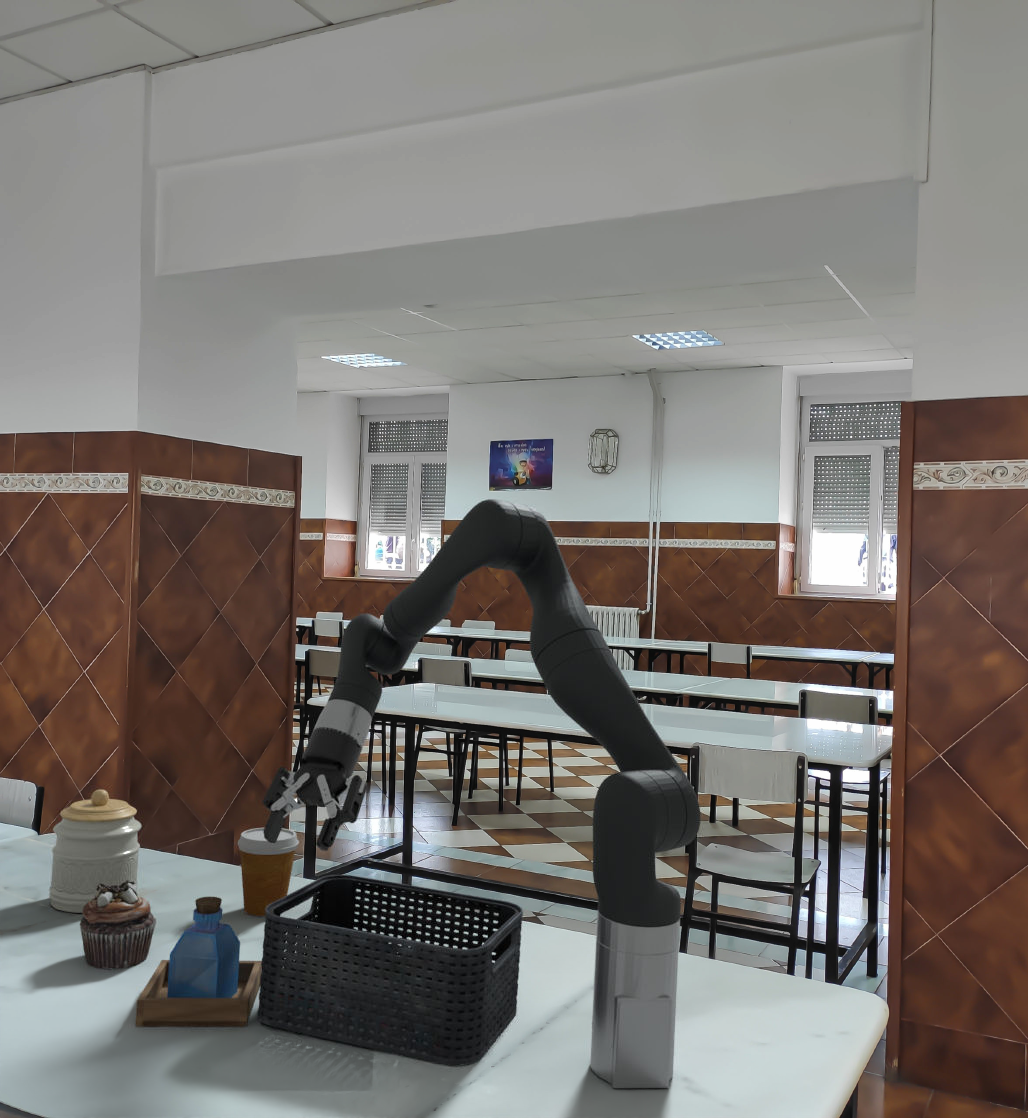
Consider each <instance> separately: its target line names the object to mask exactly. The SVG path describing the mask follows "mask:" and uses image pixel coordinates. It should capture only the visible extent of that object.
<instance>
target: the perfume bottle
mask: <svg viewBox="0 0 1028 1118" xmlns="http://www.w3.org/2000/svg"><path fill="white" fill-rule="evenodd" d="M222 901H223V899H222V898H221V897H219V896H202V897H199V898H196V899H195V908H194V909H193V911H192V912H193V913H192V920H193V921H194V924H193V925H191V926H190V927H188V928H187V929H185V930H184V931H183V932H182V934H181V935H180V937H179V939H178V940H177V941H176V944H175V945H174V947H173V948H172V950H171V952H170V954H169V960H170V961H169V977H168V993H167V998H231V997H232V996H233V995H234V994H236V993H237V988H238V971H239V961H240V954H241V953H240V952H241V941H240V940H239V938H238V936H237V934H236V933H235V930H233V928H232V926H231V925H230V924H229V923H222V922H220V920H222V918H223V908H221V906H222Z"/></svg>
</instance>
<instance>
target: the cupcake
mask: <svg viewBox="0 0 1028 1118" xmlns="http://www.w3.org/2000/svg"><path fill="white" fill-rule="evenodd" d="M134 884H135V883H134V881H133V882H130V881H129V880H127V881H126V882H124V883H122V884H121V885H120V886H118V885H112V886H111V887H110V886H107V885H104V884H99V885H98V886H97V887H98V888H97V889H96V890H95V893H94V897H95V898H94V899H91V900H90V901H89V902H88V903H87V904H86V905H85V906H84V908H83V911H82V913H81V914H82V917H81V920H80V921H79V922H80V923H79V928H80V934H81V939H82V947H83V953H84V954H83V955H84V958H85V960H86V964H87V965H88V966H89V967H93V968H96V969H102V970H118V969H125V968H130V967H131V968H132V967H134V966H137V965H139V964H141V963H143V962H145V961H146V960H147V959H148V956H149V953H150V949H151V948H150V947H151V944H152V943H151V942H152V940H153V934H154V932H155V928H156V924H157V918H156V917H155V916H154V914H153V913H152V912H151V905H150V901H148V900H147V899H146V897H145V898H144V897H142V896H139V895H138V893H136V891H137V892H138V887H137V888H136V886H135V885H134Z"/></svg>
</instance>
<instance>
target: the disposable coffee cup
mask: <svg viewBox="0 0 1028 1118" xmlns="http://www.w3.org/2000/svg"><path fill="white" fill-rule="evenodd" d="M264 828H265V827H257V828H250V829H247V830H244V831H242V832H241V833H240V837H239V839H238V840H237V843H236V844H237V845H238V848H239V852H240V865H241V867H240V868H241V882H242V885H241V886H242V895H243V912H245V914H247V913H248V914H247V915H250V916H254V915H255V916H256V915H257V916H256V917H266V915H265V909H266V907H267V906H268V905H269V904H271V903H273V902H275V901H277V900H279V899H281V898H283V897H285V896H287V895H289V893H288V892H289V887H290V881H291V877H292V870H293V865H294V859H295V854H296V850H297V848H298V846H299V844H300V841H299V840H298V836H297V835H298V834H297V832H295V831H294V830H292V829H288V828H283V827H282V829H281V832H280V834H279V836H278V839H277V841H276V843H269V842H268V841H267V840H266V839H265V838H264V834H263V832H264Z"/></svg>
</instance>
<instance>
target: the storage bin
mask: <svg viewBox="0 0 1028 1118" xmlns="http://www.w3.org/2000/svg"><path fill="white" fill-rule="evenodd" d="M357 890H358V891H357ZM375 893H377V894H375ZM393 896H394V897H393ZM311 898H312V900H311V905H310V908H309V911H308V912H306V913H305V914H303V915H301V916H299V917H297V918H291V917H287V916H286V917H285V916H281V915H282V914H283V913H286V912H287V911H289V910H292V909H293V908H296V907H298V906H299V905H301V904H303V903H305V902H306V901H309V900H310V899H311ZM403 898H404V899H403ZM366 899H367V900H366ZM411 899H412V900H411ZM376 901H377V902H376ZM420 901H422V902H420ZM383 902H384V903H383ZM393 904H395V905H393ZM357 905H358V906H357ZM411 907H412V908H411ZM457 907H458V908H457ZM374 908H375V909H374ZM437 912H440V913H437ZM485 912H488V913H485ZM401 913H402V914H401ZM365 914H366V915H365ZM449 914H450V915H449ZM497 914H498V915H497ZM265 915H266V916H265V921H264V922H265V923H264V928H263V931H264V936H263V942H262V958H261V961H262V962H261V965H262V970H261V976H260V983H261V984H260V988H259V992H258V1000H259V1001H258V1010H257V1019H258V1020H259V1021H260V1022H262V1023H263V1024H265V1025H268V1026H271V1027H275V1028H276V1029H281V1030H285V1031H288V1032H289V1031H290V1032H292V1033H293V1032H294V1033H299V1034H302V1035H307V1036H310V1037H311V1036H312V1037H315V1038H321V1039H324V1040H330V1041H333V1042H334V1041H335V1042H338V1043H343V1044H347V1045H351V1046H356V1047H360V1048H366V1049H370V1050H374V1051H379V1052H383V1053H388V1054H393V1055H397V1056H401V1057H406V1058H410V1059H414V1060H419V1061H424V1062H426V1063H427V1062H429V1063H432V1064H437V1065H446V1066H451V1067H452V1066H454V1067H455V1066H457V1067H458V1066H465V1065H471V1064H474V1063H476V1062H478V1061H479V1060H481V1059H483V1057H484V1055H485V1054H487V1052H488V1050H489V1049H490V1048H491V1047H492V1046H493V1045H494V1043H495V1042H496V1040H497V1039H498V1037H499V1036H501V1034H502V1033H503V1031H504V1030H505V1029H506V1028H507V1026H509V1024H510V1022H512V1020H514V1017H515V1016H516V1014H517V1010H518V1007H517V1006H518V999H517V998H518V997H517V996H518V994H519V993H518V991H519V983H518V982H519V976H520V974H519V973H520V962H521V961H520V959H521V958H520V957H521V943H522V942H521V940H522V933H521V932H522V925H523V915H524V909H523V907H521V906H520V905H518V904H516V903H513V902H510V901H507V900H502V899H494V898H488V897H482V896H478V895H477V896H476V895H471V894H466V893H465V894H464V893H459V892H453V891H447V890H440V889H436V888H429V887H423V886H417V885H411V884H405V883H400V882H393V881H388V880H387V881H386V880H381V879H375V878H370V877H363V876H358V875H357V876H356V875H351V874H331V875H324V876H322V877H319V878H317V879H316V880H314V881H311V882H310V883H309V884H306V885H305V886H303V887H300V888H298V889H297V890H295V891H293V892H291V893H288V894H287V896H285V897H283V898H281V899H279V900H277V901H275V902H273V903H271V904H269V905H268V906H267V907H266V909H265ZM456 915H458V916H456ZM375 916H376V917H375ZM384 918H385V919H384ZM428 918H429V919H428ZM475 918H477V919H475ZM439 920H440V921H439ZM487 920H488V921H487ZM401 921H402V922H401ZM447 921H448V922H447ZM456 923H457V924H456ZM465 924H466V925H465ZM428 926H430V927H428ZM476 926H477V927H476ZM436 927H437V928H436ZM363 929H364V930H363ZM446 929H447V930H446ZM373 931H374V932H373ZM457 931H458V932H457ZM382 933H383V934H382ZM436 935H437V936H436ZM399 936H400V937H399ZM486 936H487V937H486ZM445 937H446V938H445ZM408 938H410V939H408ZM456 939H457V940H456ZM475 942H477V943H475ZM435 943H436V944H435ZM446 945H447V946H446ZM493 953H495V954H493Z"/></svg>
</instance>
